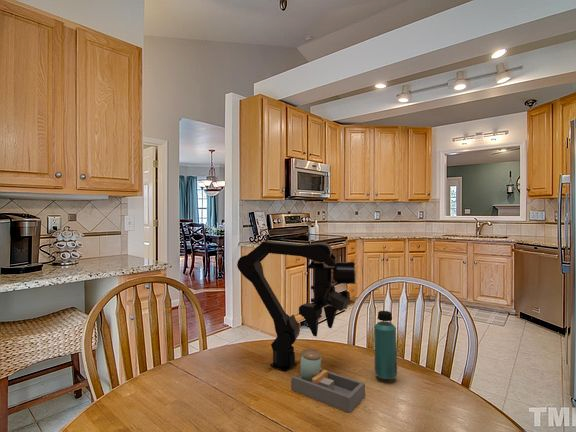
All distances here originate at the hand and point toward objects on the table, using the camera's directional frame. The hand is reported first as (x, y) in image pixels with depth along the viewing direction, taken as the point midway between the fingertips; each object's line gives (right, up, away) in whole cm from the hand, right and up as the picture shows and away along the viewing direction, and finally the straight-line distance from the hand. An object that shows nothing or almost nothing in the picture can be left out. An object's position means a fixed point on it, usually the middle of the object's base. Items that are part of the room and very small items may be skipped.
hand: (322, 331), depth 104 cm
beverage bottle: (+18, -12, -6) cm, 23 cm away
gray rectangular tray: (0, -12, -14) cm, 18 cm away
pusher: (-1, -11, -13) cm, 17 cm away
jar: (-5, -10, -10) cm, 15 cm away
